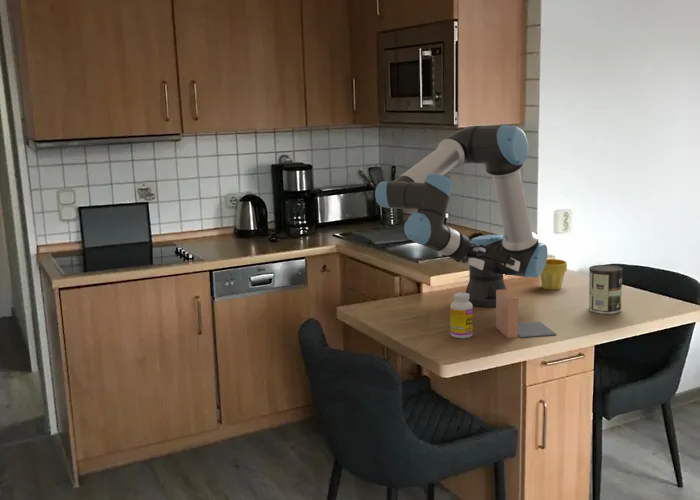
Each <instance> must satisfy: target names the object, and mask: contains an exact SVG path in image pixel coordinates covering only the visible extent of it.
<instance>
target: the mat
mask: <svg viewBox="0 0 700 500" xmlns="http://www.w3.org/2000/svg"><path fill="white" fill-rule="evenodd" d="M551 336H557V333H556V332H554V330H552V329H550V328H549V327H548V326H546V325H545V324H544V323H543V322H541V321H529V322H520V323H519V322H518V337H519V338H520V339H525V338H537V337H539V338H540V337H551Z"/></svg>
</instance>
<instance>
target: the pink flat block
mask: <svg viewBox="0 0 700 500" xmlns="http://www.w3.org/2000/svg"><path fill="white" fill-rule="evenodd" d="M506 289H507V288H506ZM506 289H501V290H496V306H495V328H496V329H497V330H498V331H500V332H501V334H503V335H504V336H505V337H506V338H507V339H513V338H514V339H515V338H518V337H519V336H518V323H519V322H518V321H519V298H518V297H517V296H516V295H514V294H513V293H512V292H510V291H509V290H508V289H507V290H506Z"/></svg>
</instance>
